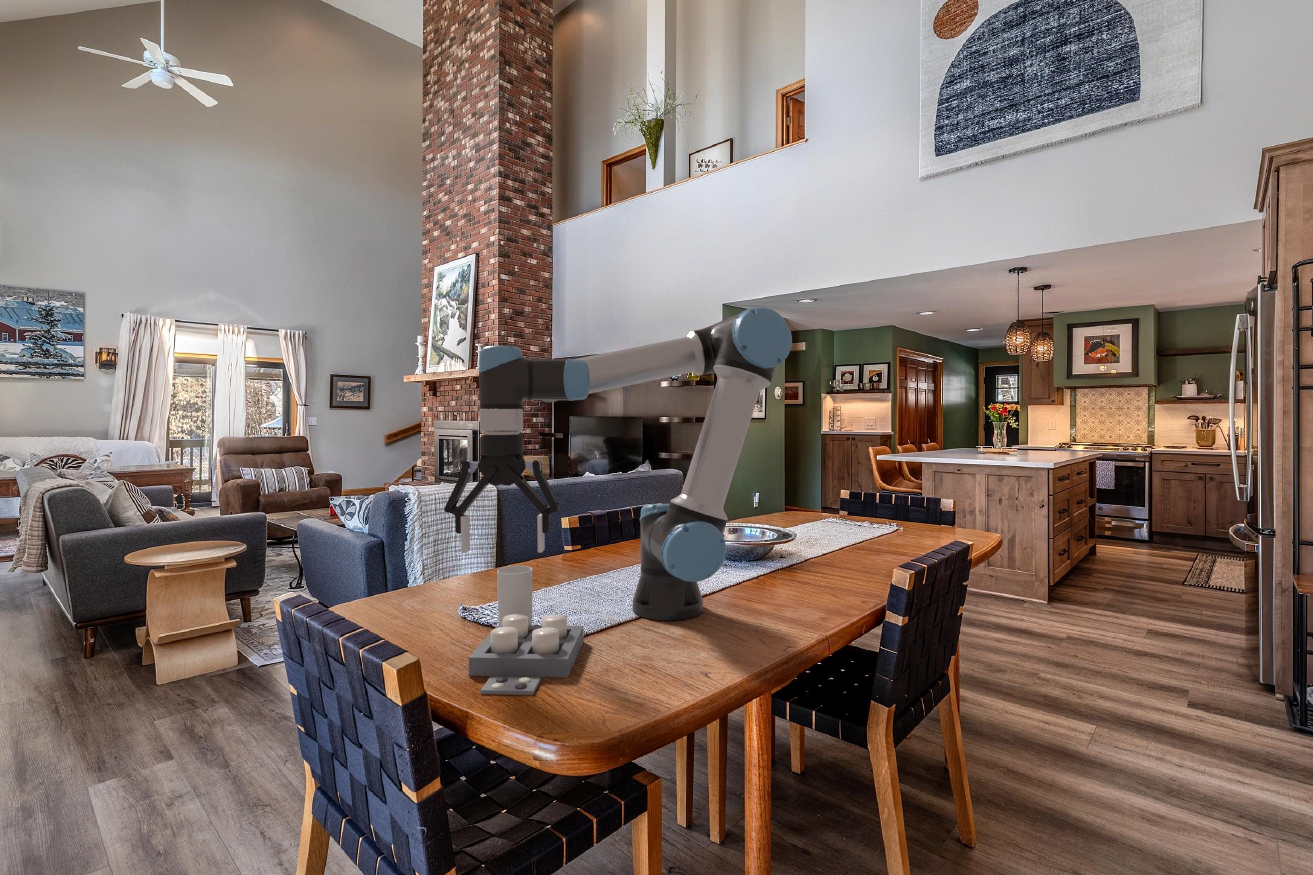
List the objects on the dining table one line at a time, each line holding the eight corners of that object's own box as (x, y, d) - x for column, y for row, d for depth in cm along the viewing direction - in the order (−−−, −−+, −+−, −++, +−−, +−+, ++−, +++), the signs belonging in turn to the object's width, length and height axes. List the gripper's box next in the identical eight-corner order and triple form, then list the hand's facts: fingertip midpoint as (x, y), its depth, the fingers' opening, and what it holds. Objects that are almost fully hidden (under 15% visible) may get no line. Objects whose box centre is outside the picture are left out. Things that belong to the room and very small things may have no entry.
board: (583, 641, 118) (583, 625, 118) (567, 677, 102) (567, 658, 102) (498, 640, 118) (498, 624, 118) (469, 675, 102) (468, 657, 102)
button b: (530, 633, 116) (530, 614, 116) (524, 642, 111) (524, 621, 111) (506, 633, 116) (506, 613, 116) (499, 641, 112) (499, 621, 111)
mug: (537, 633, 122) (536, 571, 122) (501, 638, 119) (501, 575, 119) (524, 618, 131) (524, 560, 131) (491, 623, 129) (490, 564, 128)
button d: (520, 647, 109) (520, 626, 109) (513, 657, 104) (513, 635, 104) (495, 647, 109) (495, 626, 109) (487, 657, 105) (487, 635, 104)
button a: (568, 634, 115) (568, 614, 115) (564, 642, 111) (564, 622, 111) (544, 633, 116) (544, 614, 116) (539, 642, 111) (539, 622, 111)
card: (540, 680, 100) (540, 676, 100) (533, 694, 95) (533, 689, 95) (490, 680, 101) (490, 675, 101) (480, 693, 96) (480, 688, 96)
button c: (561, 648, 108) (561, 627, 108) (556, 658, 104) (556, 636, 104) (535, 647, 109) (535, 627, 109) (529, 657, 104) (529, 636, 104)
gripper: (574, 432, 118) (575, 546, 118) (439, 433, 118) (441, 547, 118) (568, 433, 110) (569, 555, 111) (424, 434, 110) (426, 556, 111)
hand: (503, 551), depth 115 cm, fingers open, 13 cm apart
